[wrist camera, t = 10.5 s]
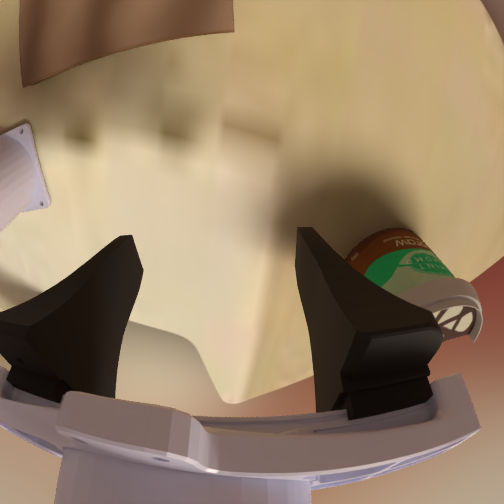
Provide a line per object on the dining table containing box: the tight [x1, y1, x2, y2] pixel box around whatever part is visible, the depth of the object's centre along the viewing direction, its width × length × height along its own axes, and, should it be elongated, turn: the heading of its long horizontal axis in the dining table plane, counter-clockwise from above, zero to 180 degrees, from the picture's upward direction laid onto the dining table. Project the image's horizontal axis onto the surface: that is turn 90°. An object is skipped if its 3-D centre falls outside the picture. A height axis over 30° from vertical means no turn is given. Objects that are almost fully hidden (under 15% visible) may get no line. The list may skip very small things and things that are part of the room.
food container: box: [345, 228, 483, 342], centre depth 20 cm, size 12×6×10 cm, turn 94°
